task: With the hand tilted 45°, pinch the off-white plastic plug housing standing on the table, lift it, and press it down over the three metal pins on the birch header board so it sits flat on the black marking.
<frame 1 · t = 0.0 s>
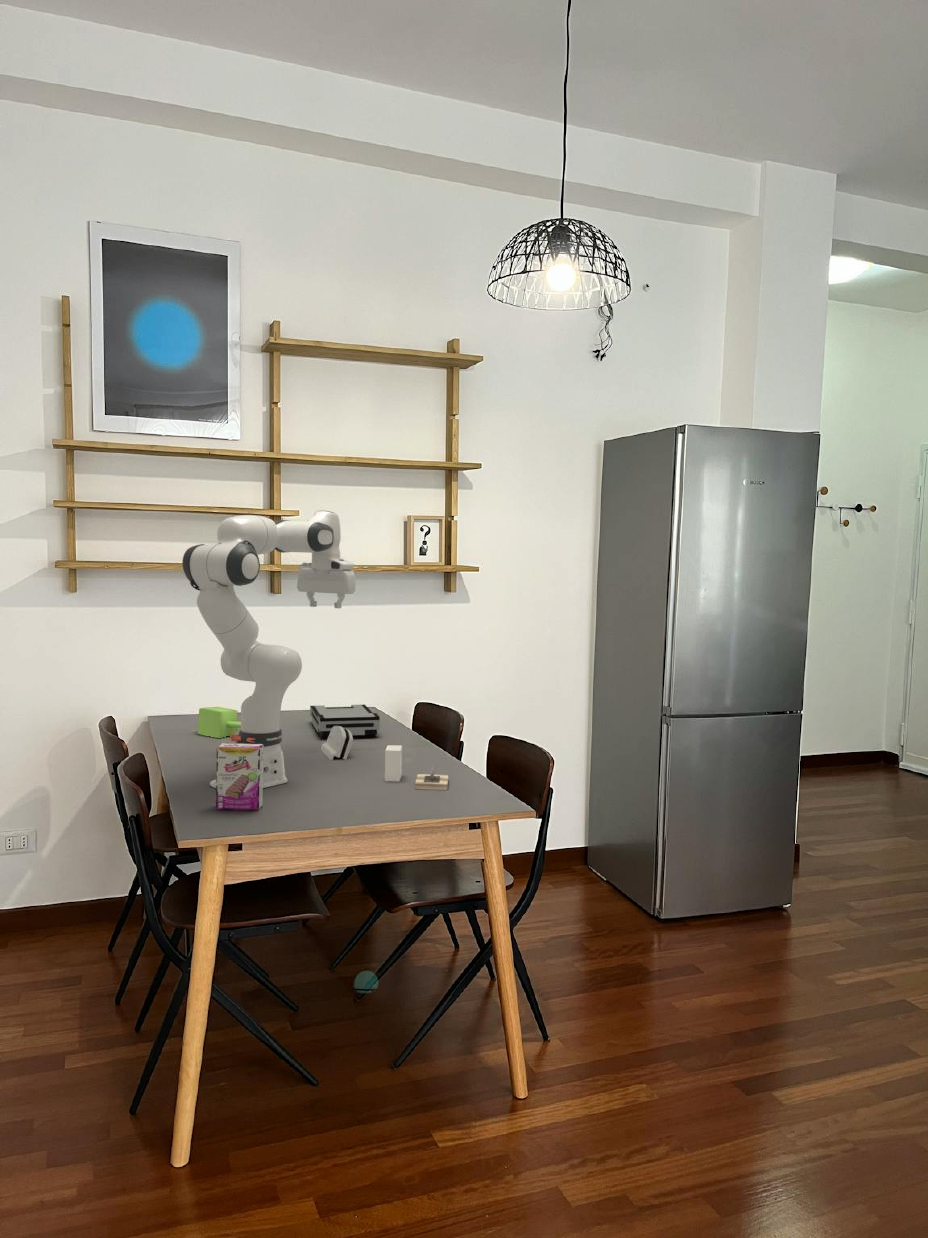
hand: (325, 607, 292), 48 cm above the table, tool pointing down, fingers open, 8 cm apart
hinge: (337, 755, 302), on the table
gearbox: (221, 735, 327), on the table
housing: (393, 778, 272), on the table
candy bar box: (239, 809, 238), on the table
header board: (431, 784, 266), on the table
office tray: (343, 732, 339), on the table
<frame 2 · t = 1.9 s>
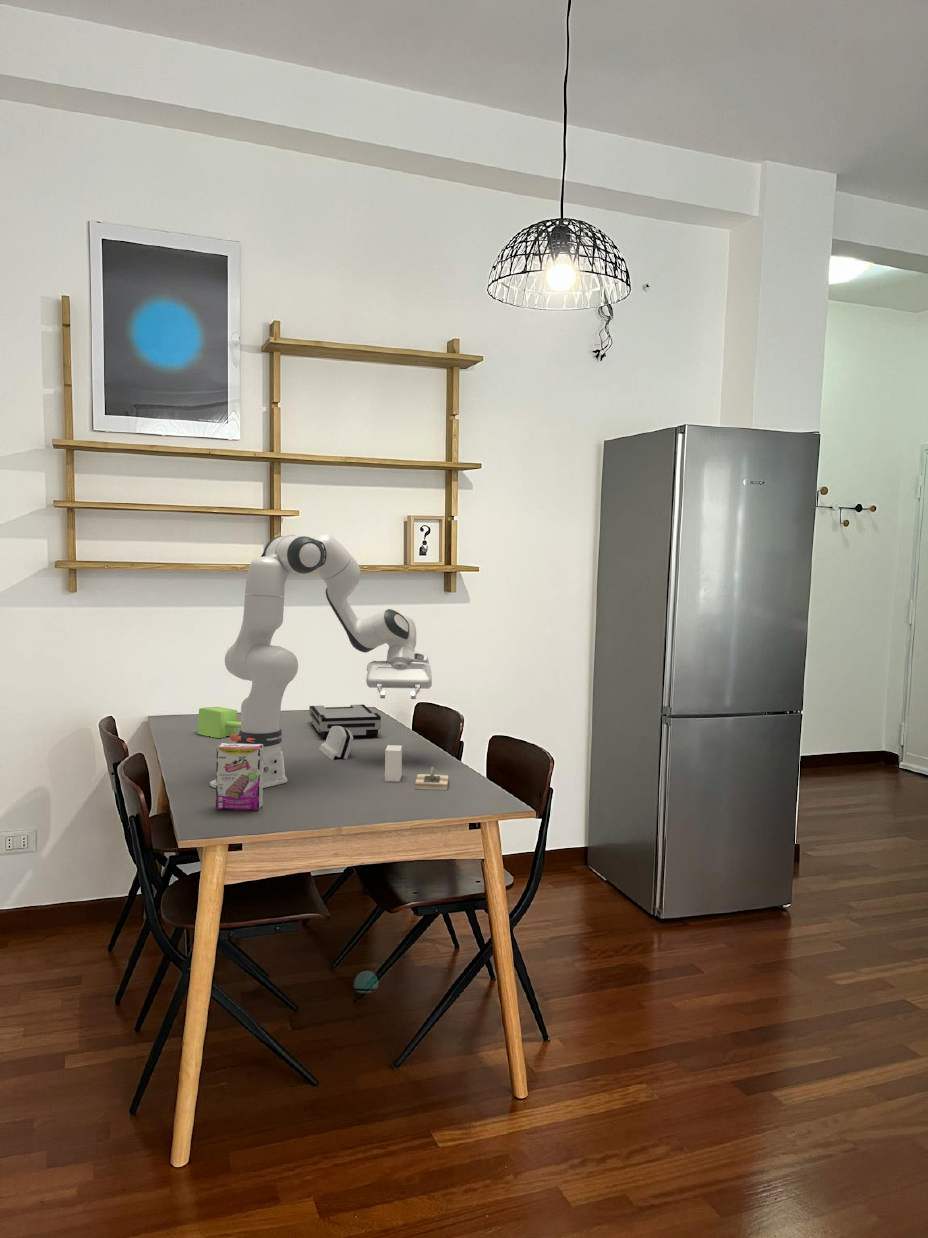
hand: (397, 697, 283), 22 cm above the table, tool tilted 45°, fingers open, 8 cm apart
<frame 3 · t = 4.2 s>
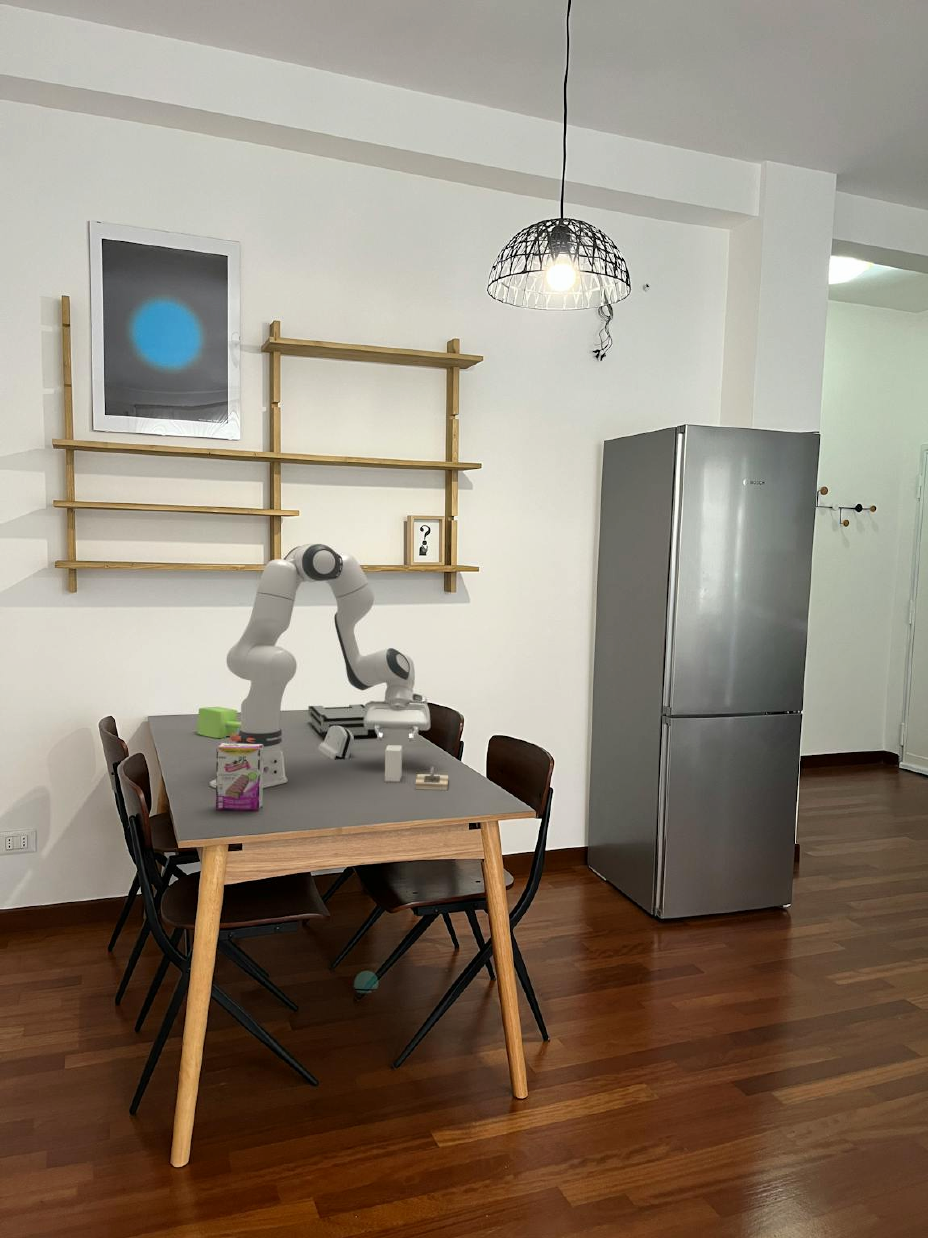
hand: (395, 740, 278), 10 cm above the table, tool tilted 45°, fingers open, 8 cm apart
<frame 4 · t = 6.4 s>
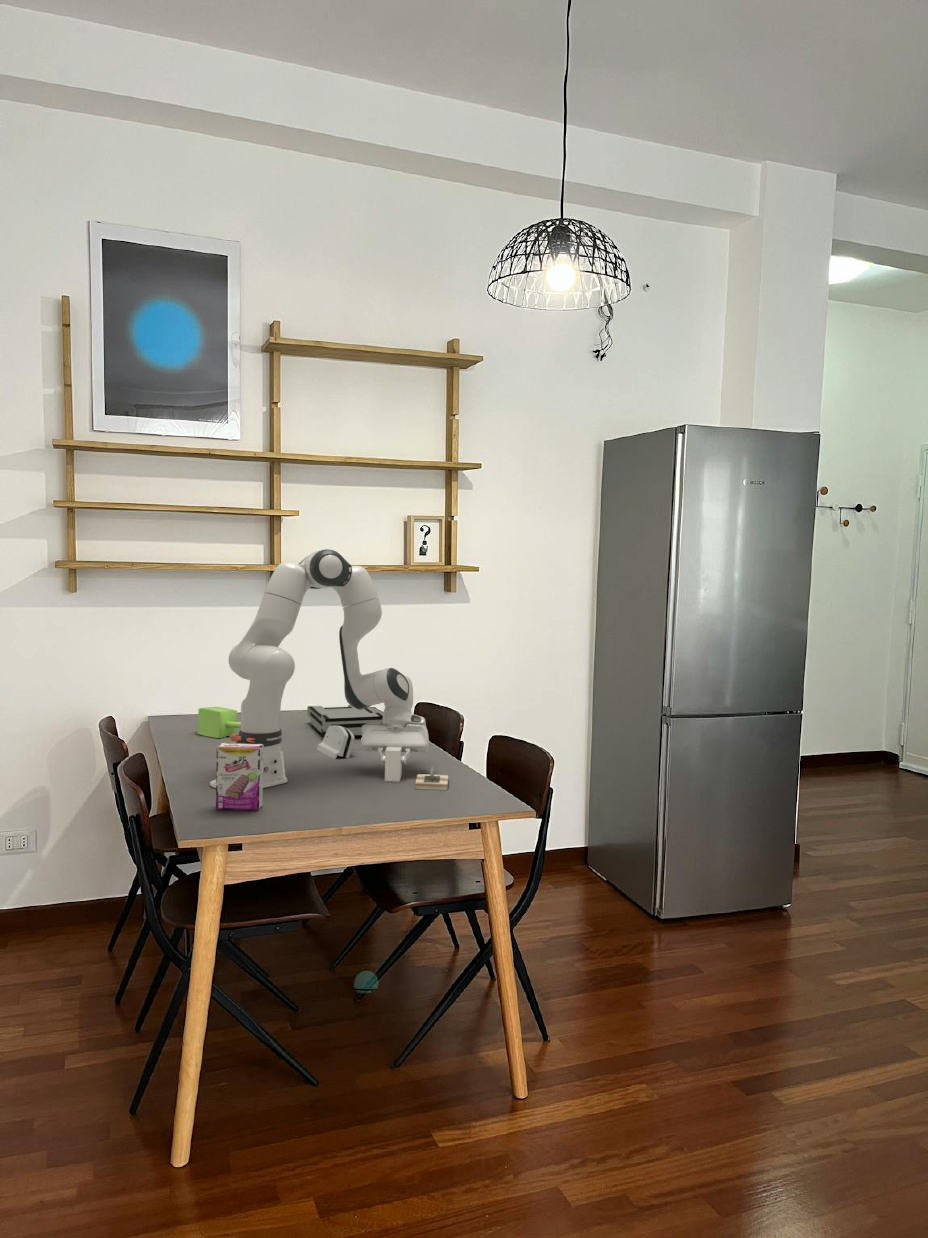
hand: (393, 762, 271), 5 cm above the table, tool tilted 45°, fingers closed on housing, 4 cm apart
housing: (393, 778, 272), on the table, touching gripper
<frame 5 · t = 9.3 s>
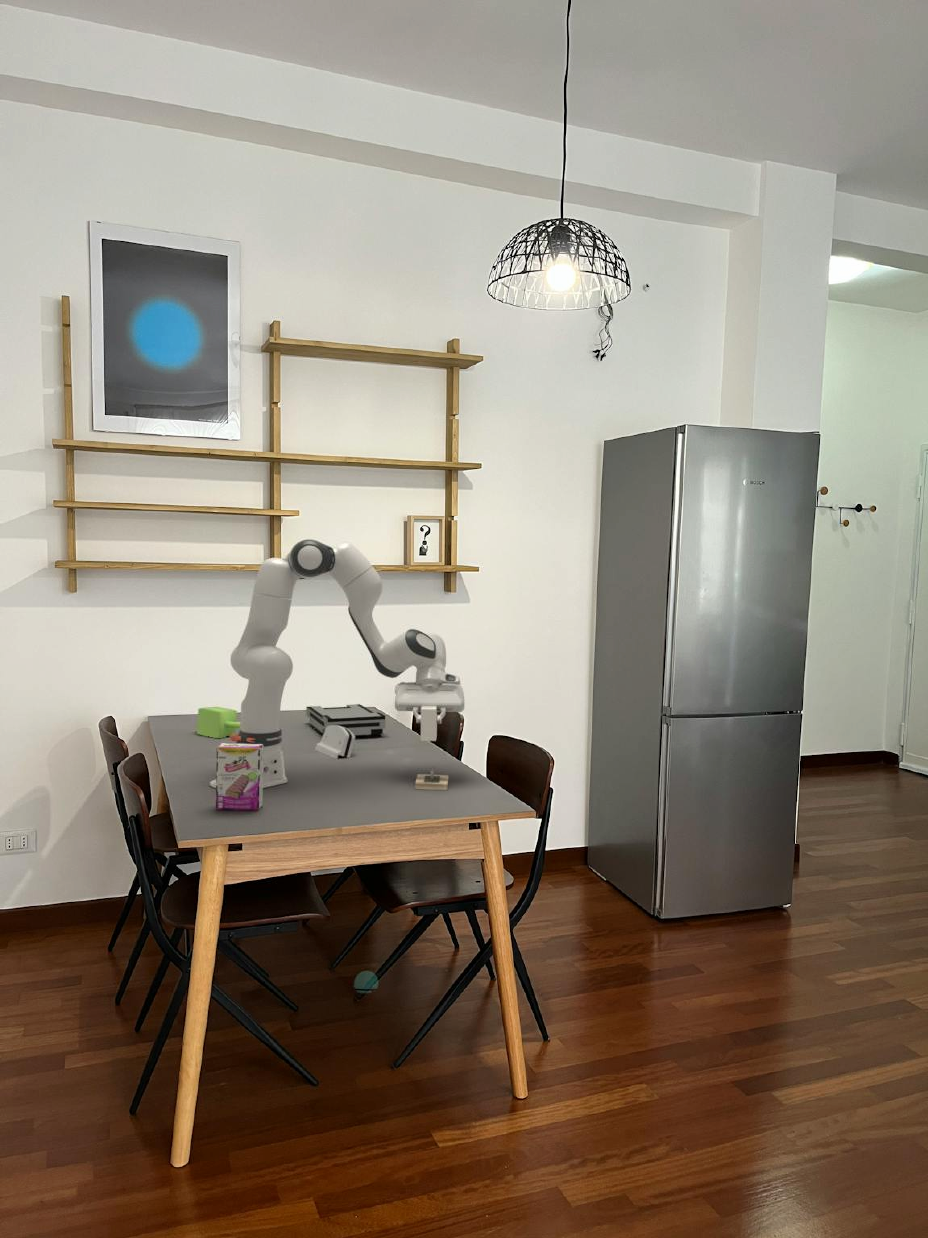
hand: (428, 722, 265), 18 cm above the table, tool tilted 45°, fingers closed on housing, 4 cm apart
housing: (428, 738, 266), point 13 cm above the table, touching gripper
when the fingers open (7 cm above the table, at t = 12.4 s): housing stays where it is, resting on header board.
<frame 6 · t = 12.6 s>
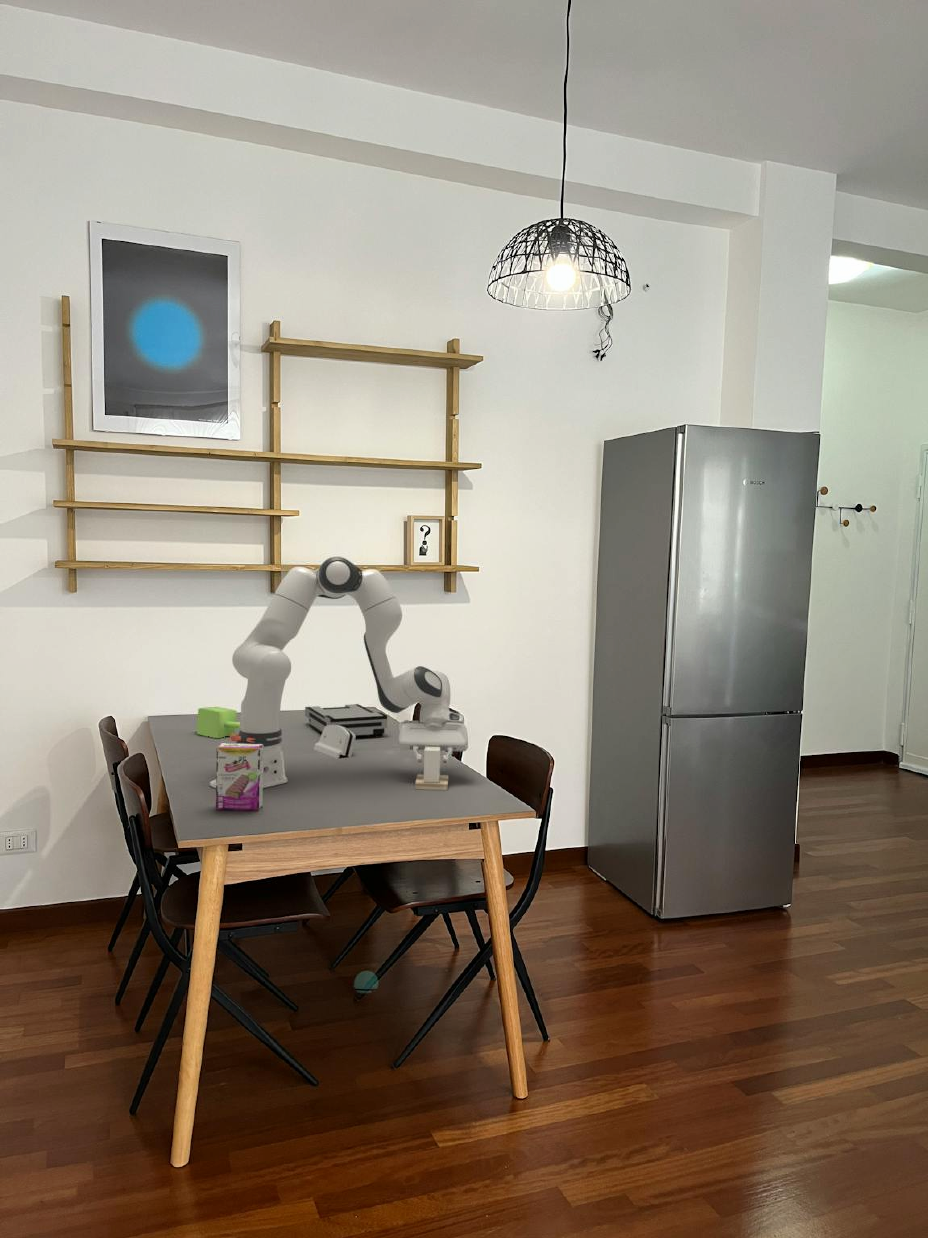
hand: (432, 761, 265), 7 cm above the table, tool tilted 45°, fingers open, 6 cm apart
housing: (431, 779, 266), point 2 cm above the table, touching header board
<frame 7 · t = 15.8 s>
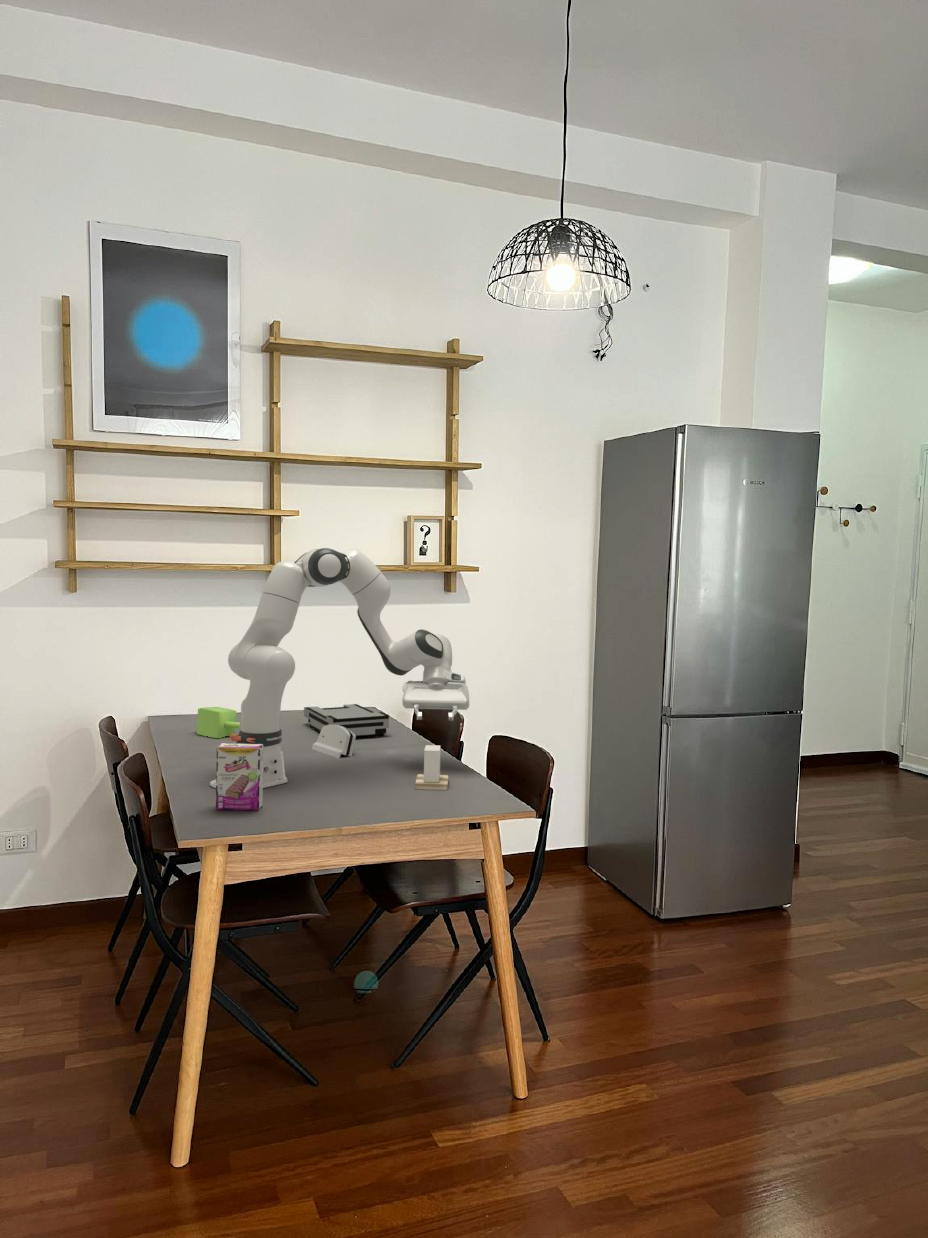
hand: (435, 719, 277), 17 cm above the table, tool tilted 45°, fingers open, 8 cm apart
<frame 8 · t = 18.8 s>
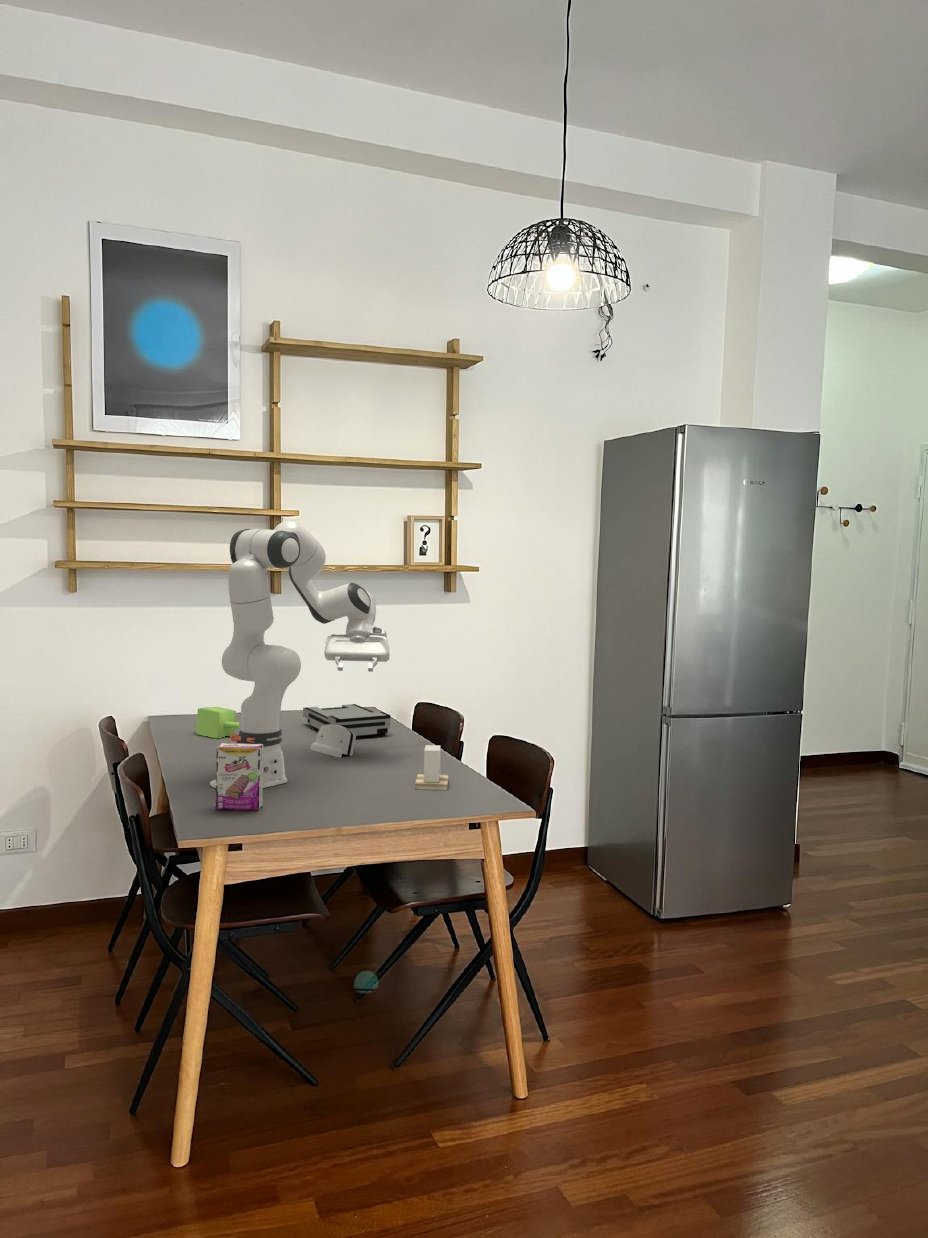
hand: (355, 670, 286), 29 cm above the table, tool tilted 45°, fingers open, 8 cm apart
at the end: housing 0.1 cm off-centre on the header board, point 1.6 cm above the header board's base; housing tilted 0°; the gripper is holding nothing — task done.
